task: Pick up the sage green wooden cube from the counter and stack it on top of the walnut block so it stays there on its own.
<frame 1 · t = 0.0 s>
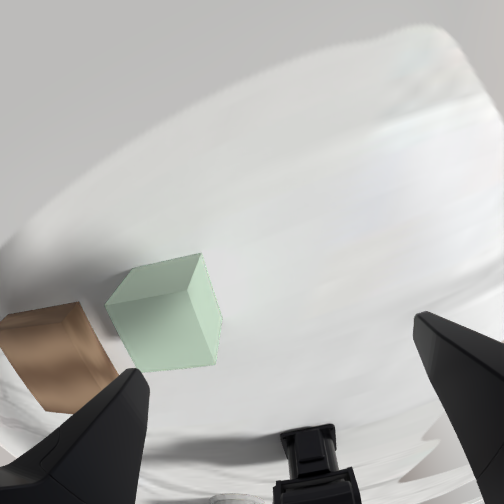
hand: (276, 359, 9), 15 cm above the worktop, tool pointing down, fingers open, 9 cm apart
french press: (241, 501, 41), on the worktop
walnut block: (65, 352, 28), on the worktop
sage cube: (177, 293, 25), on the worktop
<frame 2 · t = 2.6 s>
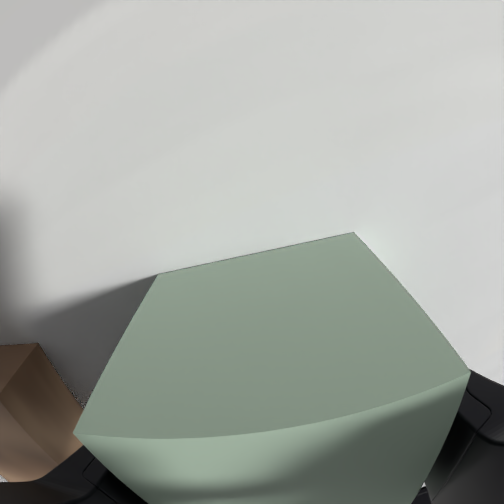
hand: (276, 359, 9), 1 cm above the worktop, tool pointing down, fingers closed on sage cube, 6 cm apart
walnut block: (34, 417, 14), on the worktop
sage cube: (273, 335, 10), on the worktop, touching gripper
when the fingers open (7 cm above the worktop, at t = 7.2 s): sage cube drops 2 cm, resting on walnut block.
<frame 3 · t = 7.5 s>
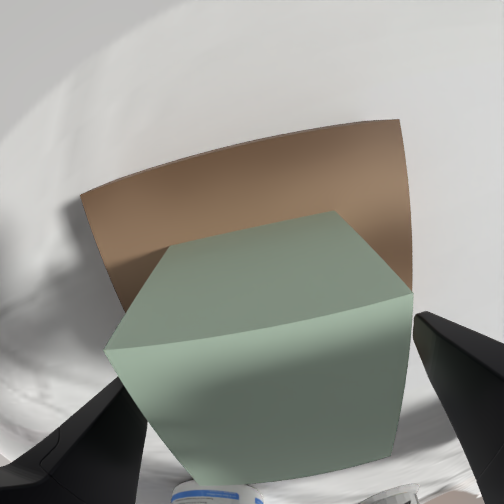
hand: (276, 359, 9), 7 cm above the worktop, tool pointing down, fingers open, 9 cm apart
supplement tub: (219, 491, 25), on the worktop
french press: (393, 496, 28), on the worktop
walnut block: (265, 262, 16), on the worktop, touching sage cube
sage cube: (267, 301, 12), point 3 cm above the worktop, touching walnut block
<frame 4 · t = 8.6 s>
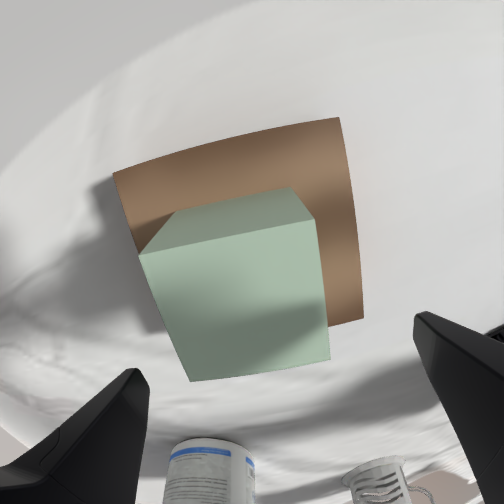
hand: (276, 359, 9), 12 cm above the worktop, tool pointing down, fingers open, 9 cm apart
supplement tub: (213, 454, 30), on the worktop
french press: (379, 469, 33), on the worktop
walnut block: (248, 228, 20), on the worktop, touching sage cube
sage cube: (244, 252, 17), point 3 cm above the worktop, touching walnut block
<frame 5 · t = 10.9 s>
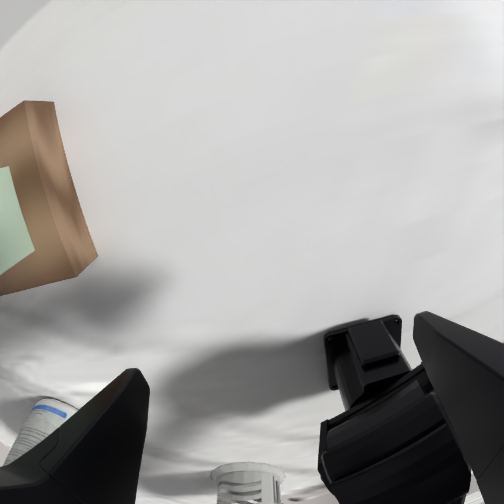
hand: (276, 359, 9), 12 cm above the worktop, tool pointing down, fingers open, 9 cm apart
supplement tub: (71, 420, 29), on the worktop
french press: (254, 475, 32), on the worktop
walnut block: (22, 201, 20), on the worktop, touching sage cube
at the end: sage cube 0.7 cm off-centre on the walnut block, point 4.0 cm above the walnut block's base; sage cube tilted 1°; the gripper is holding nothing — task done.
